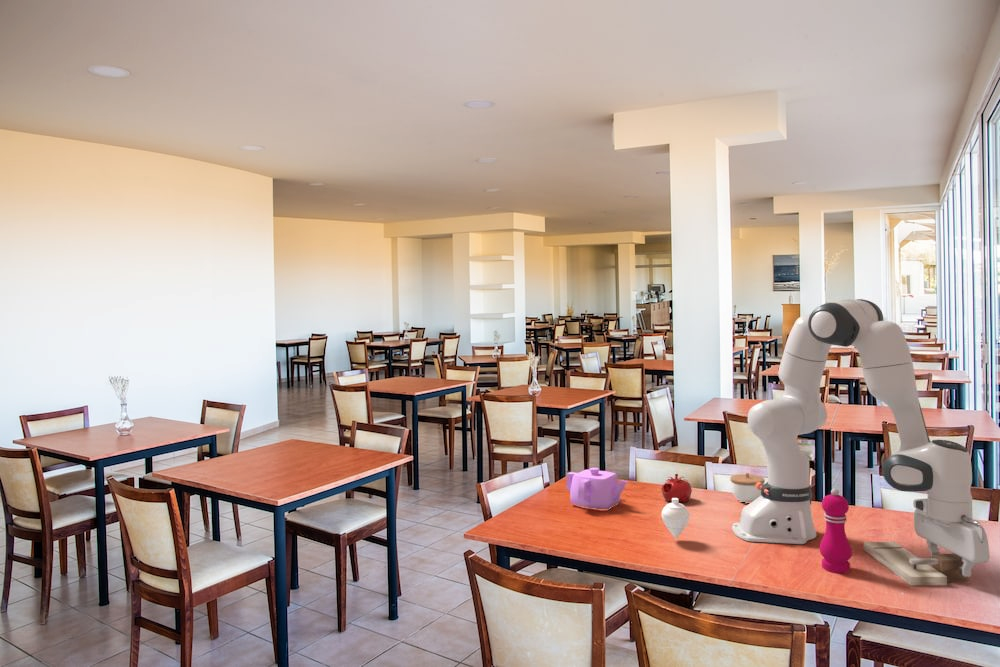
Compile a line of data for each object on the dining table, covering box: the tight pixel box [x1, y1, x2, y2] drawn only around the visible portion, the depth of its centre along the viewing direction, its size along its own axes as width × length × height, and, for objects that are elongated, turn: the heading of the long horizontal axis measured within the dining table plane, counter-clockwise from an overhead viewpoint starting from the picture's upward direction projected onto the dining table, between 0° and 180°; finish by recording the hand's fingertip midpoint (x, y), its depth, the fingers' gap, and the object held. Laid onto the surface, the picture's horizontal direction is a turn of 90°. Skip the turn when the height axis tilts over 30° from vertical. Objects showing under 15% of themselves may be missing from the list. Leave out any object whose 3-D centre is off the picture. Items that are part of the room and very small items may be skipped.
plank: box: [863, 541, 948, 586], centre depth 168 cm, size 8×23×2 cm, turn 177°
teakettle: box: [566, 467, 628, 510], centre depth 228 cm, size 17×17×12 cm
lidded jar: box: [730, 472, 766, 502], centre depth 226 cm, size 11×11×9 cm
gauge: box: [909, 553, 969, 582], centre depth 161 cm, size 12×4×5 cm, turn 87°
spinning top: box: [661, 498, 691, 541], centre depth 191 cm, size 8×8×12 cm
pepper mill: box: [819, 488, 853, 574], centre depth 168 cm, size 7×7×20 cm
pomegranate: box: [661, 473, 693, 503], centre depth 229 cm, size 10×10×9 cm
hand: (950, 567), depth 160 cm, fingers open, 8 cm apart
